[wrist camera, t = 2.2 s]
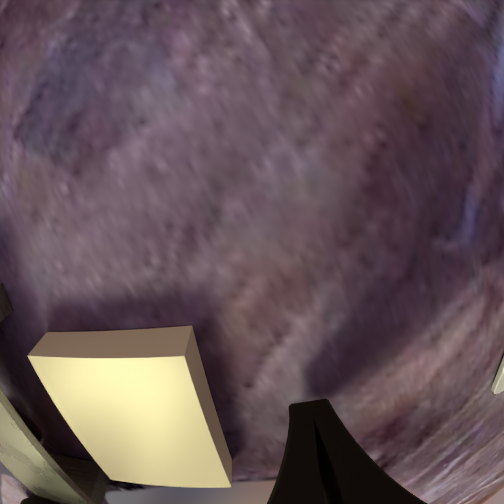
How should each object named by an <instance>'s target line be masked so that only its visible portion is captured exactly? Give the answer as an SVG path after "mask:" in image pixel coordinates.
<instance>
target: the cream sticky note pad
mask: <svg viewBox="0 0 504 504" xmlns="http://www.w3.org/2000/svg"><path fill="white" fill-rule="evenodd" d="M27 356H28V358H29V360H30V362H31V364H32V366H33V367H34V369H35V371H36V373H37V375H38V377H39V378H40V380H41V382H42V384H43V385H44V387H45V389H46V390H47V392H48V394H49V395H50V397H51V399H52V400H53V402H54V404H55V405H56V407H57V408H58V410H59V411H60V413H61V414H62V416H63V417H64V419H65V420H66V422H67V423H68V425H69V426H70V428H71V429H72V431H73V432H74V433H75V435H76V436H77V438H78V439H79V440H80V442H81V443H82V444H83V446H84V447H85V448H86V450H87V451H88V452H89V454H90V455H91V456H92V457H93V459H94V460H95V461H96V462H97V464H98V465H99V466H100V467H101V468H102V470H103V471H104V472H105V473H106V474H107V476H108V477H109V478H110V479H111V480H116V481H123V482H130V483H139V484H148V485H159V486H173V487H198V488H217V487H219V488H223V487H231V484H232V459H231V456H230V453H229V450H228V447H227V444H226V441H225V438H224V435H223V432H222V429H221V425H220V422H219V419H218V416H217V413H216V409H215V406H214V403H213V399H212V396H211V393H210V389H209V386H208V382H207V379H206V375H205V372H204V368H203V365H202V361H201V357H200V354H199V350H198V346H197V342H196V338H195V335H194V331H193V327H192V326H180V327H167V328H152V329H135V330H114V331H85V332H47V333H46V334H45V335H44V336H43V337H42V339H41V340H40V341H39V342H38V343H37V344H36V346H35V347H34V348H33V349H32V351H31V352H30V353H29V354H28V355H27Z"/></svg>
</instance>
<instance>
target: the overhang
mask: <svg viewBox="0 0 504 504" xmlns="http://www.w3.org/2000/svg"><path fill="white" fill-rule="evenodd" d="M12 311H13V310H12V307H11V305H10V302H9V300H8V297H7V295H6V292H5V289H4V286H3V284H2V283H0V322H1V321H2V320H3V319H4V318H5V317H6V316H8V315H9V314H10V313H11V312H12ZM0 461H1V462H2V463H3V464H4V465H5V466H6V467H7V468H8V469H9V471H11V473H12V474H13V475H14V476H15V477H16V478H18V480H19V481H20V482H21V483H22V484H24V485H25V486H26V487H27V488H28V489H29V490H30V491H31V492H32V493H33V494H35V495H38V496H41V497H44V498H47V499H50V500H53V501H56V502H59V503H62V504H102V502H103V499H104V495H105V492H106V489H107V486H108V482H109V479H110V478H109V477H108V476H107V474H106V473H105V472H104V471H103V470H102V468H101V467H100V466H99V465H98V464H97V462H92V461H87V460H82V459H76V458H72V457H67V456H62V455H58V454H54V453H50V452H46V450H45V449H44V448H43V447H42V446H41V444H40V443H39V441H38V439H37V438H36V437H35V436H34V434H33V433H32V432H31V430H30V429H29V428H28V426H27V425H26V424H25V422H24V421H23V419H22V418H21V417H20V415H19V414H18V412H17V411H16V409H15V408H14V407H13V406H12V405H11V403H10V402H9V400H8V399H7V397H6V396H5V394H4V393H3V391H2V389H1V388H0Z"/></svg>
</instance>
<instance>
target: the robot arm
mask: <svg viewBox="0 0 504 504" xmlns="http://www.w3.org/2000/svg"><path fill="white" fill-rule="evenodd" d="M491 389H492V391H493V392H494V394H498V393H500V392H502V391H504V357H503V359H502V362H501V365H500V367H499V370H498V372H497V375H496V377H495V380H494V382H493V384H492V388H491ZM267 504H427V503H425V502H424V501H422V500H420V499H419V498H417V497H416V496H415V495H413V494H412V493H410V492H409V491H408V490H406V489H405V488H403V487H402V486H401V485H399V484H398V483H397V482H396V481H395V480H393V479H392V478H391V477H390V476H389V475H388V474H386V473H385V472H384V471H383V470H382V469H381V468H380V467H379V466H378V465H377V464H376V463H375V462H374V461H373V460H372V459H371V458H370V457H369V456H368V455H367V454H366V452H365V451H364V450H363V449H362V448H361V447H360V446H359V444H358V443H357V442H356V441H355V439H354V438H353V437H352V435H351V434H350V433H349V432H348V430H347V429H346V428H345V426H344V425H343V423H342V422H341V420H340V419H339V417H338V416H337V414H336V412H335V411H334V409H333V407H332V406H331V404H330V402H329V400H327V399H321V400H315V401H308V402H302V403H295V404H291V405H290V406H289V430H288V437H287V442H286V447H285V452H284V456H283V460H282V464H281V467H280V470H279V474H278V477H277V480H276V483H275V485H274V488H273V490H272V493H271V495H270V498H269V500H268V502H267Z"/></svg>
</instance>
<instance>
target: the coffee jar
mask: <svg viewBox="0 0 504 504" xmlns="http://www.w3.org/2000/svg"><path fill="white" fill-rule="evenodd" d="M20 504H61V503H59V502H56V501H53V500H50V499H47V498H44V497H41V496H37V495H33V496H30V497H29V498H26V499H24V500H22V501H21V503H20Z"/></svg>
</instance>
